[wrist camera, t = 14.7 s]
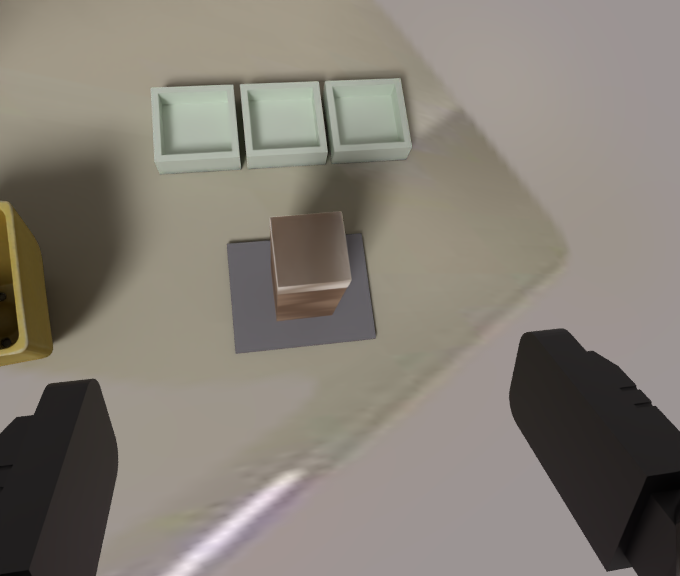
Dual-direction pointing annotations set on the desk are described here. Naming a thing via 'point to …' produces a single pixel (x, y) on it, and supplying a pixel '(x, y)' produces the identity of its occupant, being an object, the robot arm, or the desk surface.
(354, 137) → the tray
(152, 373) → the desk surface
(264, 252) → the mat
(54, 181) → the desk surface
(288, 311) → the brown wooden block
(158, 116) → the tray
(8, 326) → the flower pot
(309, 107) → the tray
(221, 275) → the desk surface
